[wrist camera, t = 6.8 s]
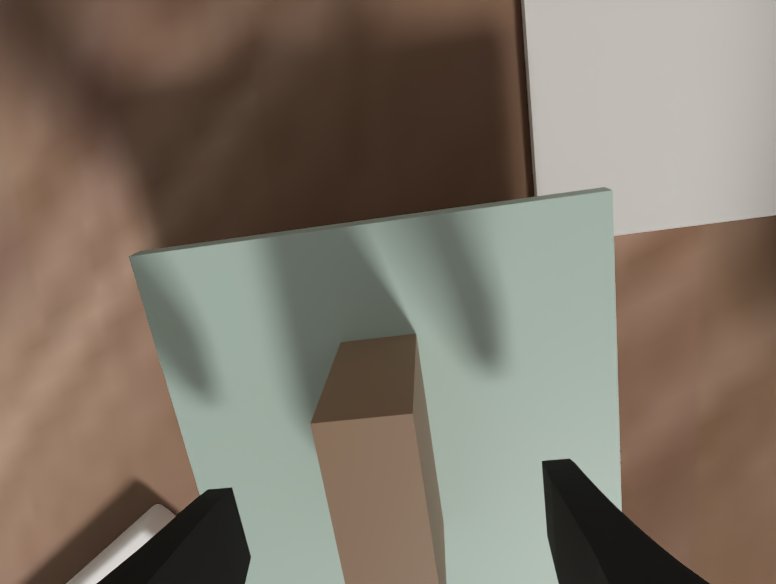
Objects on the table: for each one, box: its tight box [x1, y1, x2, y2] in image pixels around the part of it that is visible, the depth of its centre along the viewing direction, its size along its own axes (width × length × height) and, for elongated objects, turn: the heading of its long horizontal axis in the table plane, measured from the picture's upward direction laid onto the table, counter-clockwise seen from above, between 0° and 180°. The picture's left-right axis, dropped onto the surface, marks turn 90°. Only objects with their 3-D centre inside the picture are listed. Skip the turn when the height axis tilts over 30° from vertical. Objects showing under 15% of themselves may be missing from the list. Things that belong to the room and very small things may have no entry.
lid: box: [129, 187, 622, 584], centre depth 14 cm, size 12×12×5 cm
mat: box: [521, 0, 776, 236], centre depth 15 cm, size 12×12×1 cm
